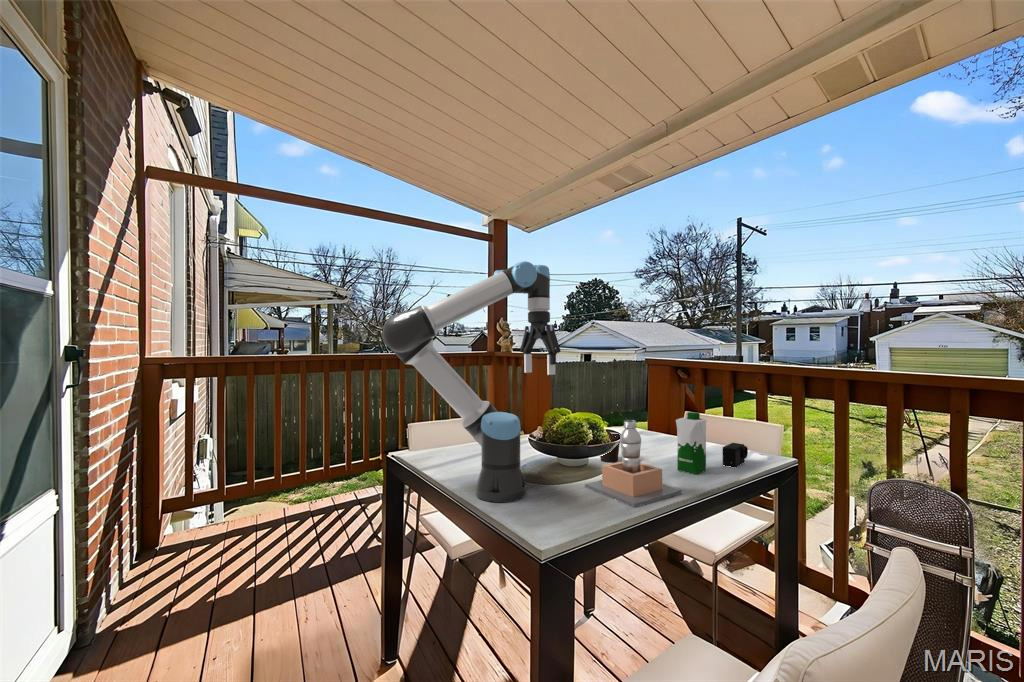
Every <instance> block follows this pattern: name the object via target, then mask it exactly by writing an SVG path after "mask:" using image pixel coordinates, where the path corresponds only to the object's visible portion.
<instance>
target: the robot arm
mask: <svg viewBox="0 0 1024 682" xmlns="http://www.w3.org/2000/svg"><path fill="white" fill-rule="evenodd" d="M549 268H550V267H548V266H547V265H543V264H533V263H531V262H529V261H527V260H525V261H523V260H522V261H519V262H517V263H515V264H514V265H512V266H511V267H508V268H506V269H499V270H498V269H497V270H495V271H494V273H493V275H491V276H489V277H487V278H485V279H482V280H481V281H479V282H477V283H474V284H471V285H469V286H468V287H465V288H463V289H461V290H459V291H457V292H455V293H452V294H450V295H448V296H446V297H444V298H441V299H439V300H438V301H436V302H434V303H431V304H429V305H427V306H426V305H422V304H421V305H419V306H416V307H414V308H412V309H409V310H406V311H403V312H400V313H399V312H398V313H396V314H393V315H392V316H389V318H388V319H387V320H386V321H385V323H384V325H383V327H382V338H383V341H384V343H385V345H386V346H387V347H388V348H389V349H390V350H391V351H392V352H394V354H395V355H396V356H397V357H398V359H400V360H401V361H402V362H403V364H404V365H409V366H410V365H411V366H413V367H414V368H415V369H416V370H417V371H418V372H419V374H420V375H421V376H422V377H423V378H424V380H426V381H427V383H429V385H431V386H432V387H433V388H434V389H435V391H436V392H437V393H438V394H439V396H440V397H441V398H442V399H443V400H444V401H445V402H446V403H447V404H448V405H449V406H450V407H451V408H452V409H453V410H454V411H455V413H456V414H457V415H458V416H460V418H461V419H462V423H461V424H462V425H461V426H462V427H463V428H464V429H465V431H467V432H468V434H469V435H470V436H471V437H472V438H473V440H474V441H476V443H477V444H478V445H480V447H481V467H480V468H481V469H480V471H479V475H478V478H477V482H476V485H475V496H476V495H477V496H478V497H479V498H478V497H477V496H476V497H477V498H478V499H480V498H481V499H480V500H482V499H483V500H482V501H485V500H486V501H485V502H490V501H493V502H492V503H510V502H515V501H518V500H521V499H523V498H524V497H526V496H527V484H526V483H527V482H526V481H525V477H524V475H523V471H522V468H521V431H522V428H521V426H522V425H521V421H520V418H519V417H518V416H517V415H516V414H513V413H510V412H504V411H498V410H497V409H496V407H495V406H494V405H493V404H492V403H491V402H490V401H489V400H482V399H481V398H480V396H478V395H477V394H476V393H475V391H474V390H473V389H472V388H471V386H469V385H468V383H466V381H465V379H463V378H462V377H461V376H460V375H459V374H458V373H457V371H455V369H454V368H453V367H452V366H451V365H450V363H449V362H447V361H446V359H445V358H444V357H443V356H442V355H441V354H440V353H439V352H438V350H437V349H435V347H434V339H433V338H434V337H435V336H436V335H437V334H438V331H439V330H441V329H443V328H446V327H447V326H450V325H452V324H453V323H455V322H458V321H460V320H462V319H463V318H466V317H468V316H470V315H472V314H474V313H476V312H478V311H480V310H482V309H484V308H486V307H488V306H490V305H493V304H494V303H496V302H499V301H501V300H503V299H506V298H507V297H509V296H510V295H513V294H527V310H528V312H527V322H528V323H530V326H529V325H525V327H524V334H523V337H522V342H521V345H520V348H519V349H520V350H519V352H520V353H522V354H523V364H524V368H523V369H524V370H523V371H524V373H525V374H529V373H533V354H532V350H533V348H534V346H535V344H536V342H537V340H541V341H542V342H543V345H544V346H545V349H546V350H547V356H546V358H547V359H546V361H547V362H546V363H547V364H546V365H547V367H546V368H547V370H546V371H547V376H549V375H550V376H553V375H556V364H557V354H559V353H561V348H560V345H559V341H558V338H557V334H556V332H555V331H556V330H555V325H554V324H550V322H551V313H550V311H549V310H551V304H550V299H551V297H550V294H551V293H550V292H551V291H550V288H551V277H550V274H551V273H550V269H549ZM548 323H549V324H548ZM509 501H510V502H509Z"/></svg>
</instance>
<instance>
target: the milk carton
mask: <svg viewBox="0 0 1024 682" xmlns="http://www.w3.org/2000/svg"><path fill="white" fill-rule="evenodd" d="M686 413H687V414H686V415H687V416H686V417H680V418H679V417H678V418H677V419H675V425H676V431H677V433H676V437H677V439H676V440H677V441H676V443H677V445H676V447H677V450H676V451H677V452H676V453H677V462H676V463H677V464H676V465H677V467H676V468H677V469H676V471H677V470H681V471H680V472H682V471H685V472H684V473H686V472H689V473H688V474H691V473H693V474H692V475H696V474H697V475H699V473H700V474H702V473H704V472H706V470H707V468H706V467H707V440H706V439H707V437H706V436H707V433H706V432H707V419H704V418H700V417H701V416H700V412H694V411H693V412H692V411H691V412H690V411H689V412H686ZM703 471H704V472H703ZM701 472H702V473H701Z"/></svg>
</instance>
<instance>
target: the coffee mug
mask: <svg viewBox="0 0 1024 682" xmlns="http://www.w3.org/2000/svg"><path fill="white" fill-rule="evenodd" d="M609 432H610V433H611V434H619V435H621V433H617V432H611V431H609ZM615 437H616V436H615ZM620 446H621V444H620V442H619V444H618V445H617V446H616V447H615V448H614V449H613V450H612V451H611V452H609V453H607V454H605V455H603V456H600V455H599V457H600V462H603V463H607V464H612V463H617V461H618V462H619V453H620V452H619V451H620Z"/></svg>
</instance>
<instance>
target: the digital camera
mask: <svg viewBox="0 0 1024 682" xmlns="http://www.w3.org/2000/svg"><path fill="white" fill-rule="evenodd" d="M748 454H749V449H748V446H746V445H745V444H744V443H739V442H738V443H737V442H731V443H729V444H726V445H725V446H722V466H723V465H725V466H724V467H726V466H731V467H736V468H738V467H739V466H738V465H740V464H741V465H743V464H745V463H744V462H745V459H747V458H748ZM742 463H743V464H742ZM741 465H740V466H741ZM737 466H738V467H737ZM731 467H730V468H731Z"/></svg>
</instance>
